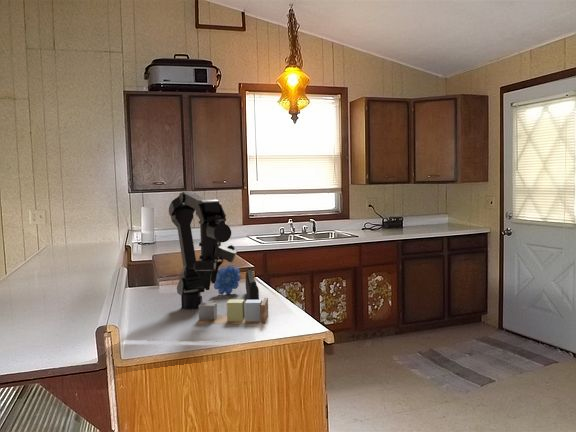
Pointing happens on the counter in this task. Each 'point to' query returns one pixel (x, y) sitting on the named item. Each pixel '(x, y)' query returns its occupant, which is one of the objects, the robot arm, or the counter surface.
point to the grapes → (227, 279)
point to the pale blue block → (253, 310)
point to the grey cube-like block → (207, 311)
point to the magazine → (251, 286)
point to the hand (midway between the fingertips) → (210, 286)
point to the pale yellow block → (235, 310)
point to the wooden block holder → (264, 315)
